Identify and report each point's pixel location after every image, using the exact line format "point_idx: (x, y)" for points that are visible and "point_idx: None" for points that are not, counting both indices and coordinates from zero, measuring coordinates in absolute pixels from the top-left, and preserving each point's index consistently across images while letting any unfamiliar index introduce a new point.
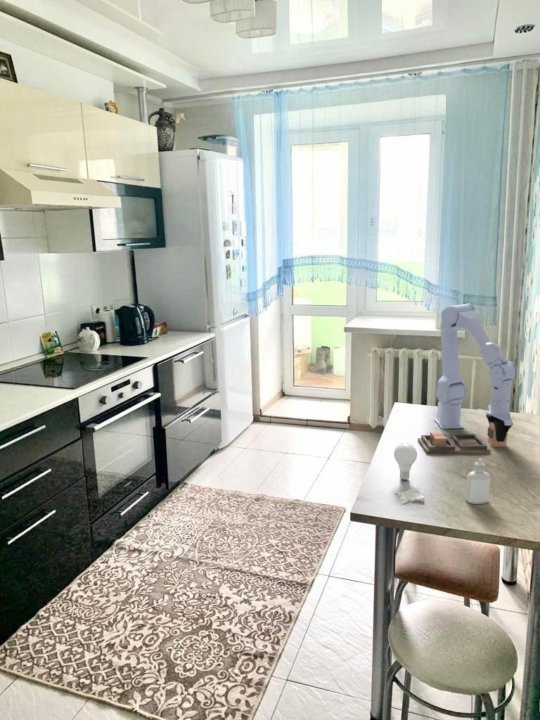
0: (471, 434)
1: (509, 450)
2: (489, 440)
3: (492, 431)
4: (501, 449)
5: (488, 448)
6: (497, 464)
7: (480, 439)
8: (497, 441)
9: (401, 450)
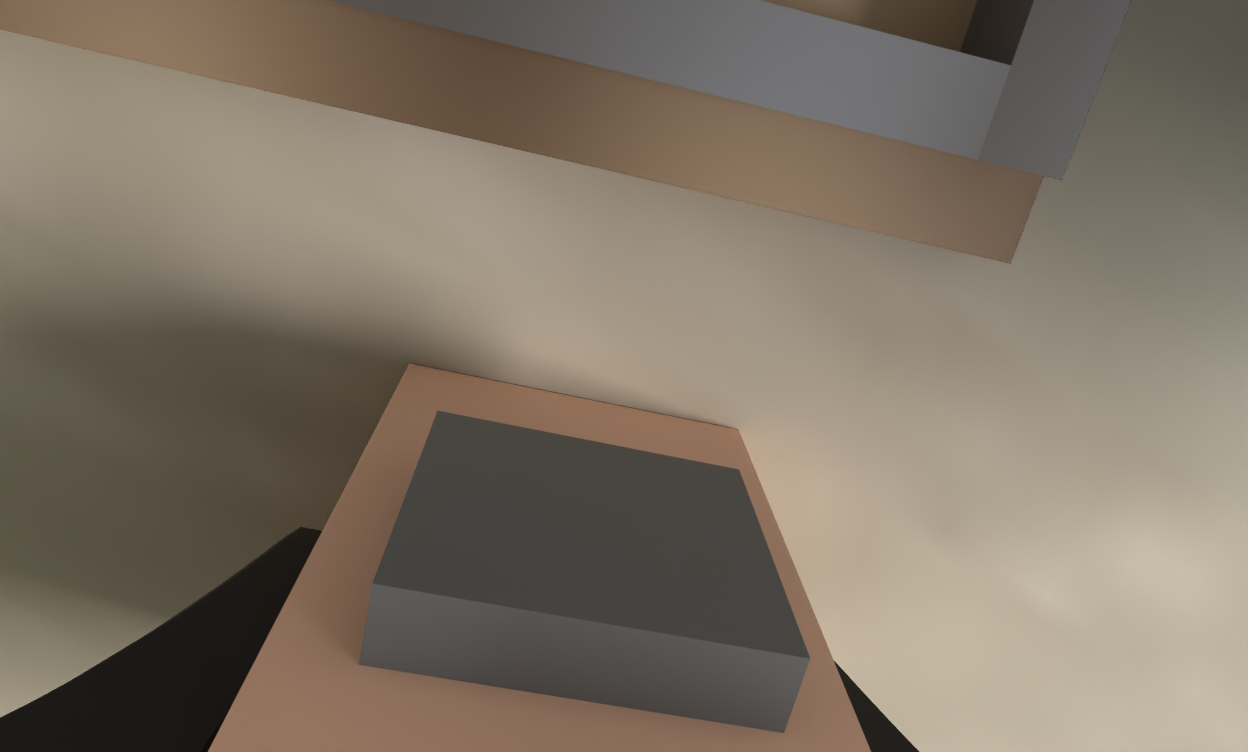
0: (1095, 1)
1: (99, 606)
2: (655, 442)
3: (375, 602)
4: (186, 466)
5: (27, 25)
6: None
7: (539, 44)
8: (312, 529)
9: None
